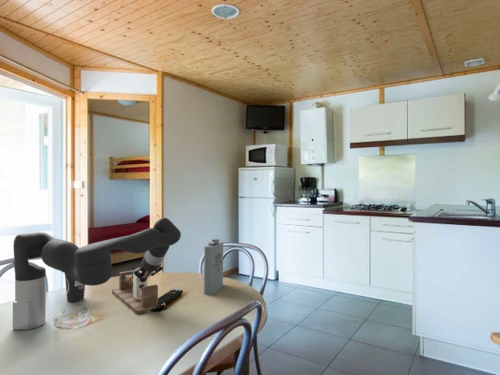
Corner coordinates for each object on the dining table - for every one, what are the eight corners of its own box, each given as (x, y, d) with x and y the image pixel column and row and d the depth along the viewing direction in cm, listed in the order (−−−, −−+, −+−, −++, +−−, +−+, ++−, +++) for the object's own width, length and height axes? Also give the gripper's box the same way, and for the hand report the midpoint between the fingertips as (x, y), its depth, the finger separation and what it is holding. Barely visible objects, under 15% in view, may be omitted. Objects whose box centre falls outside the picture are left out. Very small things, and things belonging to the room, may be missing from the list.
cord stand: (165, 307, 136) (165, 284, 136) (137, 314, 128) (137, 290, 128) (137, 288, 161) (137, 268, 160) (112, 293, 153) (112, 272, 153)
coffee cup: (69, 305, 137) (69, 269, 137) (59, 300, 143) (59, 266, 143) (91, 299, 145) (91, 265, 145) (81, 294, 151) (81, 262, 151)
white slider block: (146, 297, 142) (147, 272, 142) (136, 299, 139) (136, 273, 139) (143, 294, 145) (143, 270, 145) (133, 297, 142) (133, 271, 142)
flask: (212, 295, 151) (212, 241, 151) (202, 294, 153) (203, 241, 152) (225, 284, 168) (225, 236, 168) (217, 283, 169) (217, 235, 169)
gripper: (140, 267, 124) (128, 291, 134) (172, 262, 132) (159, 285, 142) (135, 251, 128) (124, 275, 138) (166, 247, 136) (154, 270, 146)
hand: (142, 280), depth 140 cm, fingers closed
